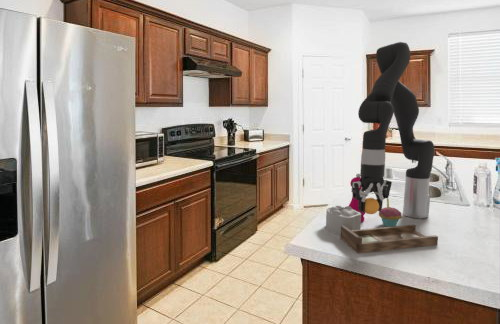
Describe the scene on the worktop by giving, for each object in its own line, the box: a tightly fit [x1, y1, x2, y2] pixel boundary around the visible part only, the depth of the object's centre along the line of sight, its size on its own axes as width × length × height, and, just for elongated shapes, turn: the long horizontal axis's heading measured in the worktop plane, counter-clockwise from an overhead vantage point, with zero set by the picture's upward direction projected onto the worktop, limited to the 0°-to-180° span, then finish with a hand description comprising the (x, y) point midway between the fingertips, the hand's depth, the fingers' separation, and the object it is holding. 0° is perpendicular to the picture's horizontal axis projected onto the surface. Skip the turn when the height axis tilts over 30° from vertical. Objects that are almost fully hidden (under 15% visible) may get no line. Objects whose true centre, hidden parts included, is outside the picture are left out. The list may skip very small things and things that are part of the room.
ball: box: [364, 197, 379, 215], centre depth 112 cm, size 6×6×6 cm
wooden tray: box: [340, 224, 439, 254], centre depth 116 cm, size 30×12×5 cm, turn 102°
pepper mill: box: [348, 173, 367, 223], centre depth 137 cm, size 7×7×20 cm
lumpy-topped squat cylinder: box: [325, 205, 362, 236], centre depth 128 cm, size 10×13×9 cm
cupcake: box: [378, 197, 403, 227], centre depth 132 cm, size 9×8×12 cm
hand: (369, 210), depth 112 cm, fingers closed on ball, 5 cm apart
